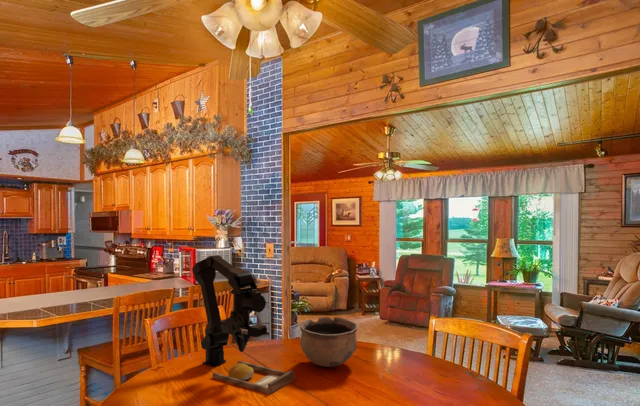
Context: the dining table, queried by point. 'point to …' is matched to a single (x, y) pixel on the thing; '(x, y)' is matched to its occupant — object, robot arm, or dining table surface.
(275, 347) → the dining table surface
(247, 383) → the brown open frame
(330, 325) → the ceramic bowl
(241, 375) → the bread roll
